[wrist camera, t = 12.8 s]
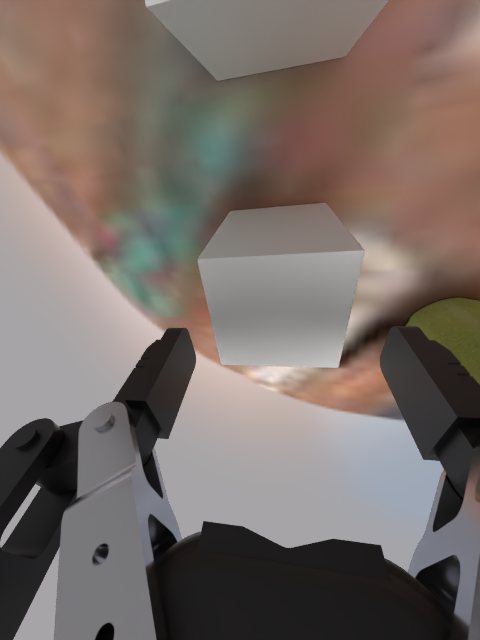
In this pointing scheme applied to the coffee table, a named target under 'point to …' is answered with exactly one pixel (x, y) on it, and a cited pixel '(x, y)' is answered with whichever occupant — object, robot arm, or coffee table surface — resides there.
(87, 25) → the coffee table surface
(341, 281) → the light grey rectangular block
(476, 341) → the plant pot
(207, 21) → the left white block
